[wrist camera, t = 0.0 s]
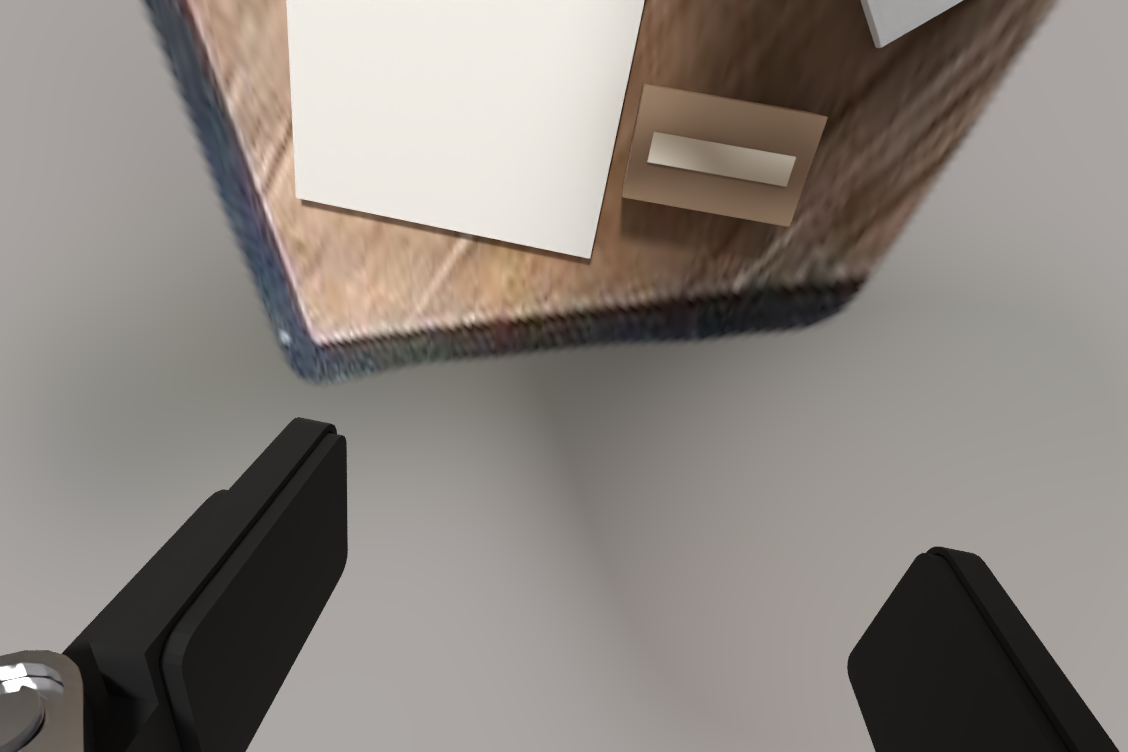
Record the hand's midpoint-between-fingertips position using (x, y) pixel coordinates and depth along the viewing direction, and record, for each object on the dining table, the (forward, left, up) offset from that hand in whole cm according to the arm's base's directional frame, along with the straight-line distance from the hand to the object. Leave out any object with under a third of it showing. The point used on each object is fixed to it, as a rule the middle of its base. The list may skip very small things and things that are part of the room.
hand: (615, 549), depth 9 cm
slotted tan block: (-3, +5, -32) cm, 32 cm away
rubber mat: (-3, -11, -31) cm, 33 cm away
